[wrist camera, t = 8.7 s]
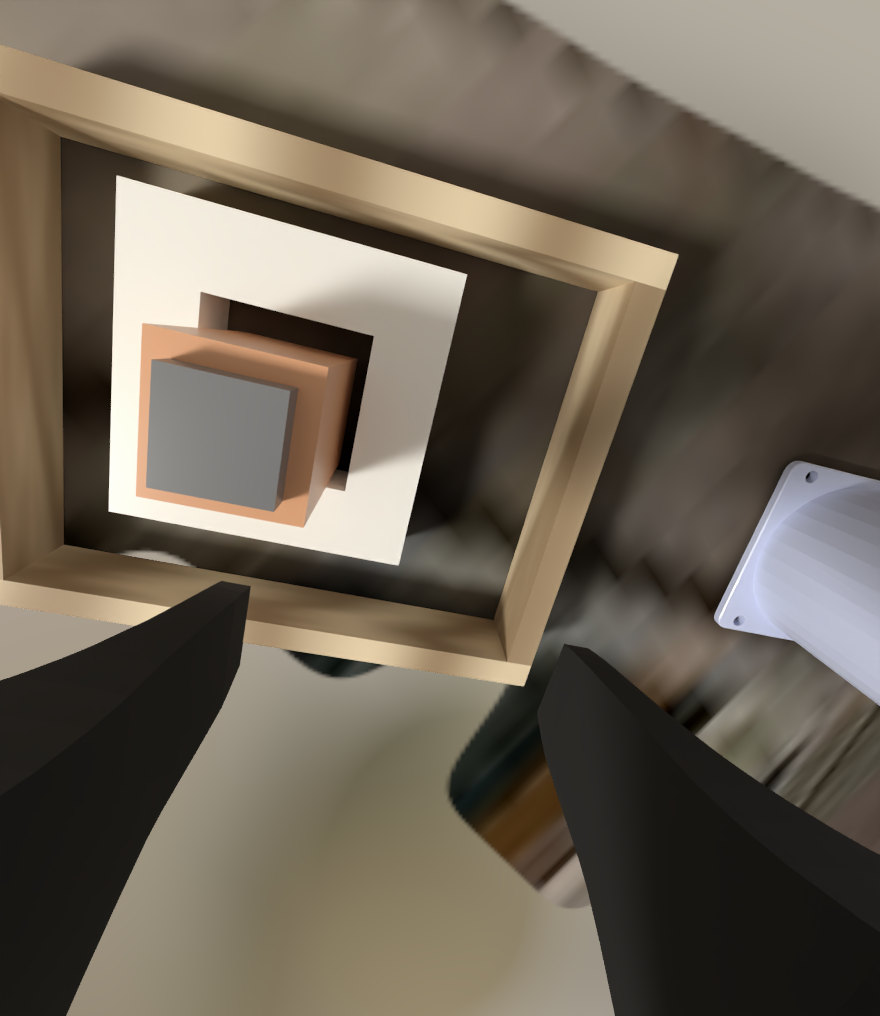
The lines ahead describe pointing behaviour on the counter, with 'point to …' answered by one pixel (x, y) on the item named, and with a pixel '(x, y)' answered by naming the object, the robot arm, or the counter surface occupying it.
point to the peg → (239, 421)
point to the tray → (303, 293)
